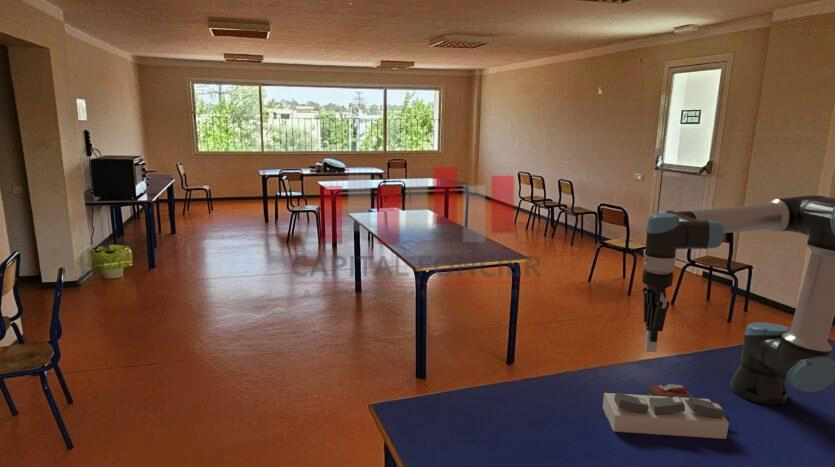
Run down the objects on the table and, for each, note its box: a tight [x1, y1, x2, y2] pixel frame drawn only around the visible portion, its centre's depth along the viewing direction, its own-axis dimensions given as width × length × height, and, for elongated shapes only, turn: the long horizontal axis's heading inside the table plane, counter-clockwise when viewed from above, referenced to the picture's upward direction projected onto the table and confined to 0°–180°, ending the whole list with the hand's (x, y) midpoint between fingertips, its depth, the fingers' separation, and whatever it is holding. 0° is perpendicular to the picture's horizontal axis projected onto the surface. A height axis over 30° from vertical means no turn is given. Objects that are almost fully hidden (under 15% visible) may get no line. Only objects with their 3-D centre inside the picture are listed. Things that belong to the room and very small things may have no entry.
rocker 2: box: [649, 396, 685, 415], centre depth 144 cm, size 8×4×3 cm, turn 84°
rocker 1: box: [614, 392, 649, 414], centre depth 145 cm, size 8×4×3 cm, turn 85°
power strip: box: [602, 392, 730, 440], centre depth 148 cm, size 33×12×5 cm, turn 84°
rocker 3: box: [687, 396, 726, 419], centre depth 143 cm, size 8×4×3 cm, turn 85°
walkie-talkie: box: [645, 383, 720, 405], centre depth 160 cm, size 9×4×20 cm
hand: (650, 350), depth 145 cm, fingers closed
